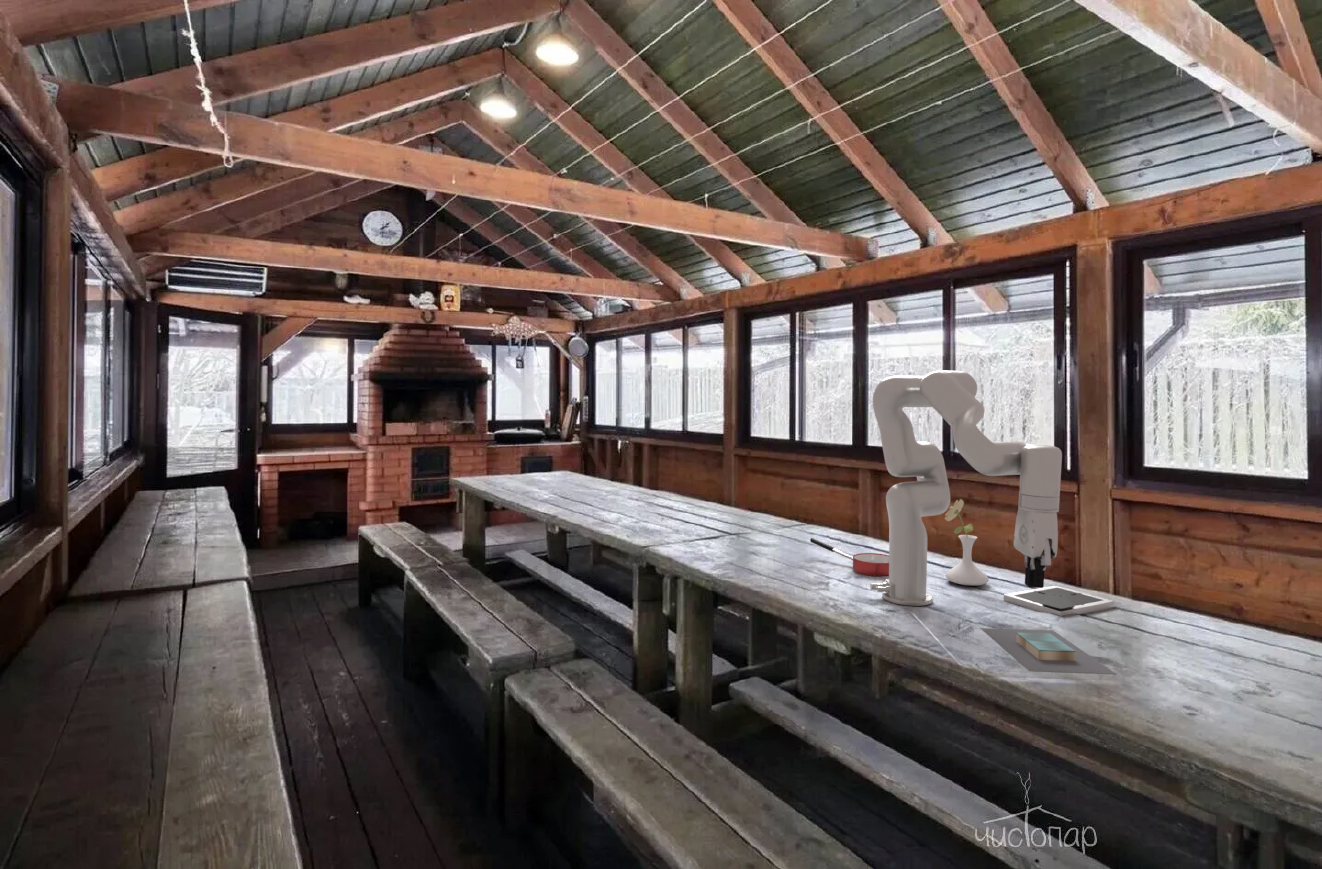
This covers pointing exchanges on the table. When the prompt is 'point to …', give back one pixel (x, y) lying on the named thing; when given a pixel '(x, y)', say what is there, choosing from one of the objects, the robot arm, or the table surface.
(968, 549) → the flower in vase
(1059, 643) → the tile
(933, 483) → the robot arm
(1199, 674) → the table surface
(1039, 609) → the picture frame
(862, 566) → the frying pan
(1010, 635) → the rubber mat
